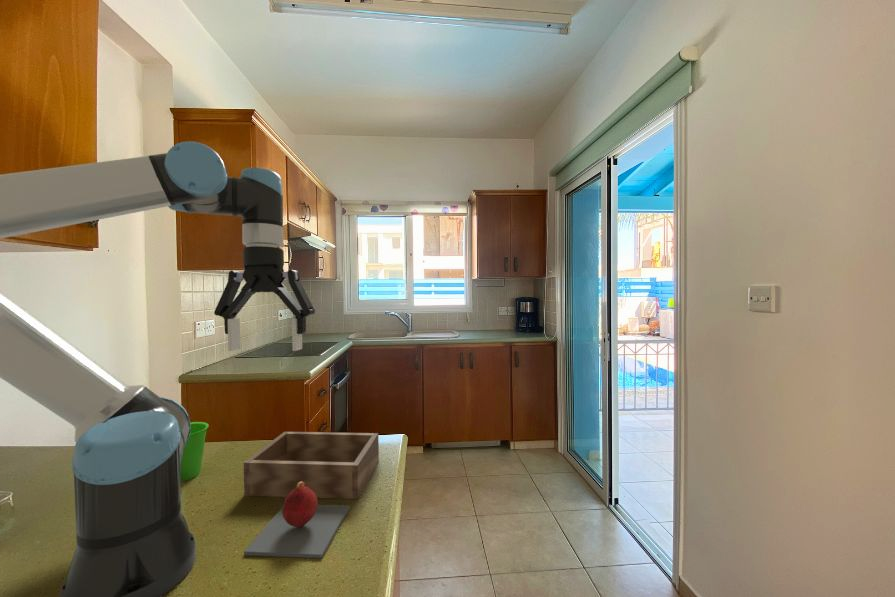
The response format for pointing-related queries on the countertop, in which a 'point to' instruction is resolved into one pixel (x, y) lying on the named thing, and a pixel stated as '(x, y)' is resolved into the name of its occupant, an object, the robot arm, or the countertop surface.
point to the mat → (299, 534)
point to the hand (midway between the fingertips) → (265, 349)
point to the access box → (313, 464)
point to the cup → (193, 451)
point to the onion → (299, 505)
